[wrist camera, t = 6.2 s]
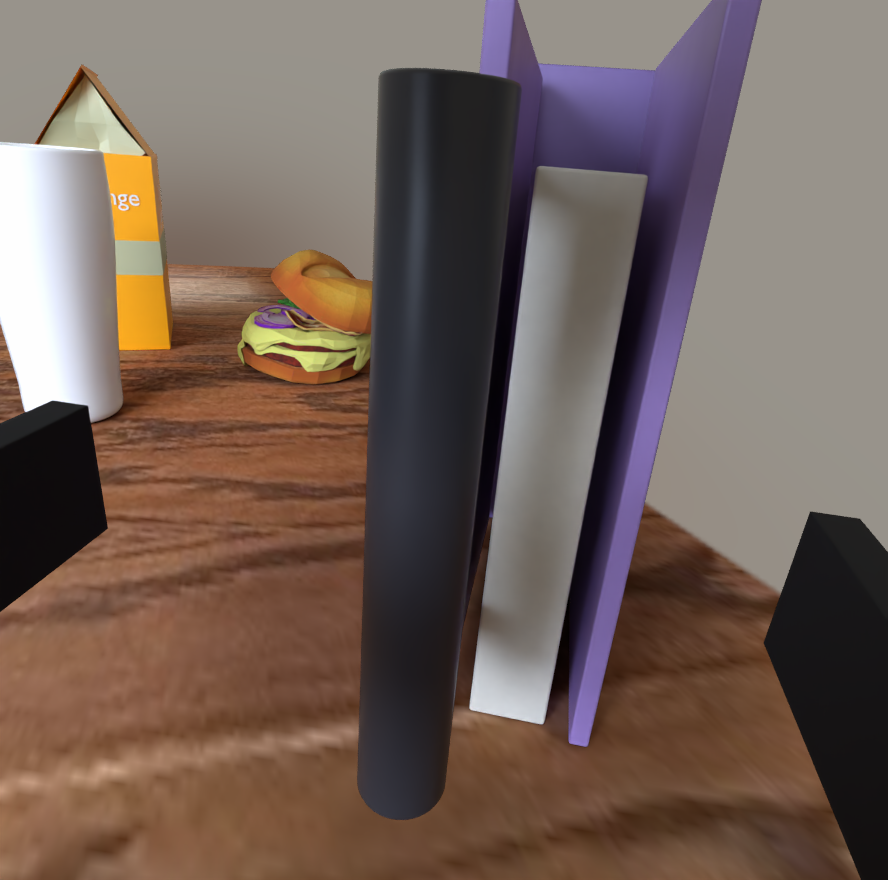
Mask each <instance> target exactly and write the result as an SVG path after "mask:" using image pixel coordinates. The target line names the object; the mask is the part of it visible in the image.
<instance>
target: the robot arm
mask: <svg viewBox="0 0 888 880" xmlns="http://www.w3.org/2000/svg"><path fill="white" fill-rule="evenodd" d="M106 529H108V527H107V520H106V514H105V508H104V502H103V495H102V489H101V483H100V477H99V471H98V464H97V458H96V452H95V446H94V439H93V433H92V427H91V421H90V414H89V408H88V406H87V405H80V404H74V403H67V402H60V401H53V400H52V401H50V402H48V403H45V404H43V405H41V406H39V407H36V408H34V409H32V410H30V411H27V412H25V413H23V414H21V415H18V416H16V417H14V418H12V419H9V420H7V421H5V422H3V423H0V612H1V611H2V610H3V609H5V608H6V607H7V606H8V605H10V604H11V603H12V602H14V601H15V600H16V599H17V598H19V597H20V596H21V595H23V594H24V593H25V592H27V591H28V590H29V589H30V588H32V587H33V586H34V585H36V584H37V583H38V582H39V581H41V580H42V579H43V578H45V577H46V576H47V575H48V574H50V573H51V572H52V571H54V570H55V569H56V568H57V567H59V566H60V565H61V564H63V563H64V562H65V561H66V560H68V559H69V558H70V557H72V556H73V555H74V554H75V553H77V552H78V551H79V550H81V549H82V548H83V547H84V546H86V545H87V544H88V543H90V542H91V541H92V540H93V539H95V538H96V537H97V536H99V535H100V534H101V533H102V532H104V531H105V530H106ZM764 645H765V647H766V650H767V652H768V654H769V657H770V659H771V662H772V664H773V667H774V669H775V671H776V674H777V676H778V679H779V681H780V684H781V686H782V688H783V691H784V693H785V696H786V698H787V701H788V703H789V705H790V708H791V710H792V713H793V715H794V718H795V720H796V722H797V725H798V727H799V730H800V732H801V735H802V737H803V739H804V742H805V744H806V747H807V749H808V752H809V754H810V756H811V759H812V761H813V764H814V766H815V769H816V771H817V774H818V776H819V778H820V781H821V783H822V786H823V788H824V791H825V793H826V795H827V798H828V800H829V803H830V805H831V808H832V810H833V812H834V815H835V817H836V820H837V822H838V825H839V827H840V829H841V832H842V834H843V837H844V839H845V842H846V844H847V846H848V849H849V851H850V854H851V856H852V859H853V861H854V863H855V866H856V868H857V871H858V873H859V876H860V878H861V880H888V552H887V551H886V550H885V548H884V547H883V546H882V545H881V544H880V542H879V541H878V540H877V539H876V538H875V536H874V535H873V534H872V533H871V532H870V530H869V529H868V528H867V527H866V526H865V524H864V523H863V522H862V521H861V520H860V519H857V518H851V517H844V516H837V515H830V514H823V513H816V512H810V514H809V517H808V519H807V522H806V525H805V528H804V531H803V533H802V536H801V539H800V542H799V545H798V547H797V550H796V553H795V556H794V559H793V562H792V565H791V567H790V570H789V573H788V576H787V579H786V581H785V585H784V587H783V590H782V593H781V595H780V598H779V601H778V604H777V607H776V610H775V612H774V615H773V618H772V621H771V624H770V626H769V629H768V632H767V635H766V638H765V641H764Z"/></svg>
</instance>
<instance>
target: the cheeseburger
mask: <svg viewBox="0 0 888 880" xmlns="http://www.w3.org/2000/svg"><path fill="white" fill-rule="evenodd" d="M271 279H272V281H273V282H274V284H275V285H276V286H277V288H278V289H279V290H280V291H281V292H282V293H283V294H284V295H285V296H286V297H287V298H286V299H283V300H278V303H281V304H284V305H270V306H264V307H261V308H259V309H258V311H256V312H253V313H251V314H250V316H249V318H248V319H247V320H246V322H245V324H244V326H243V328H242V329H243V331H242V333H241V334H242V340H241V341H240V343H239V344H238V356H239V357H240V359H241V361H242V363H243V364H244V365H245V366H249V365H250V366H251V367H253V368H254V369H256V370H257V371H260V372H263V373H265V374H268V375H271V376H274V377H277V378H280V379H283V380H286V381H289V382H294V383H304V384H314V385H315V384H323V383H331V382H337V381H340V380H343V379H346V378H349V377H351V376H354V375H355V374H357V373H358V372H359V371H360V370H361V369H362V368H363V367H364V365H365V364H366V362H367V361H368V360H369V358H370V347H371V314H372V281H368V280H360V279H356V278H355V277H354V276H353V275H352V274H351V273H350V272H349V270H348V269H347V268H346V267H345V266H344V265H343V264H342V263H340V262H339V261H337V260H336V259H334V258H332V257H330V256H328V255H326V254H323V253H321V252H318V251H315V250H304V251H299V252H298V253H296V254H294V255H292V256H290V257H288V258H286V259H284V260H283V261H282V262H281V263H280V264H279V265H278V266H277V267H275V268H274V270H273V271H272V273H271Z"/></svg>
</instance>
